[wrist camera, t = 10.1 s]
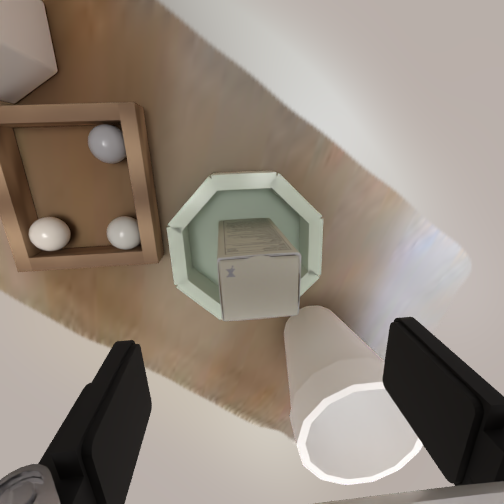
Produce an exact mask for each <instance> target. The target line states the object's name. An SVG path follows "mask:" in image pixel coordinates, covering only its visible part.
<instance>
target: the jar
mask: <svg viewBox="0 0 504 504" xmlns="http://www.w3.org/2000/svg"><path fill="white" fill-rule="evenodd" d="M57 71H58V69H57V65H56V60H55V55H54V50H53V45H52V40H51V35H50V30H49V26H48V21H47V16H46V11H45V6H44V3H43V2H42V0H0V100H1V101H4V102H8V103H12V104H14V103H16V102H18V101H19V100H20V99H22V98H23V97H25V96H26V95H27V94H29V93H30V92H31V91H33V90H34V89H35V88H37V87H38V86H40V85H41V84H42V83H44V82H45V81H46V80H48V79H49V78H50V77H52V76H53V75H55V74H56V73H57Z"/></svg>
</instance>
